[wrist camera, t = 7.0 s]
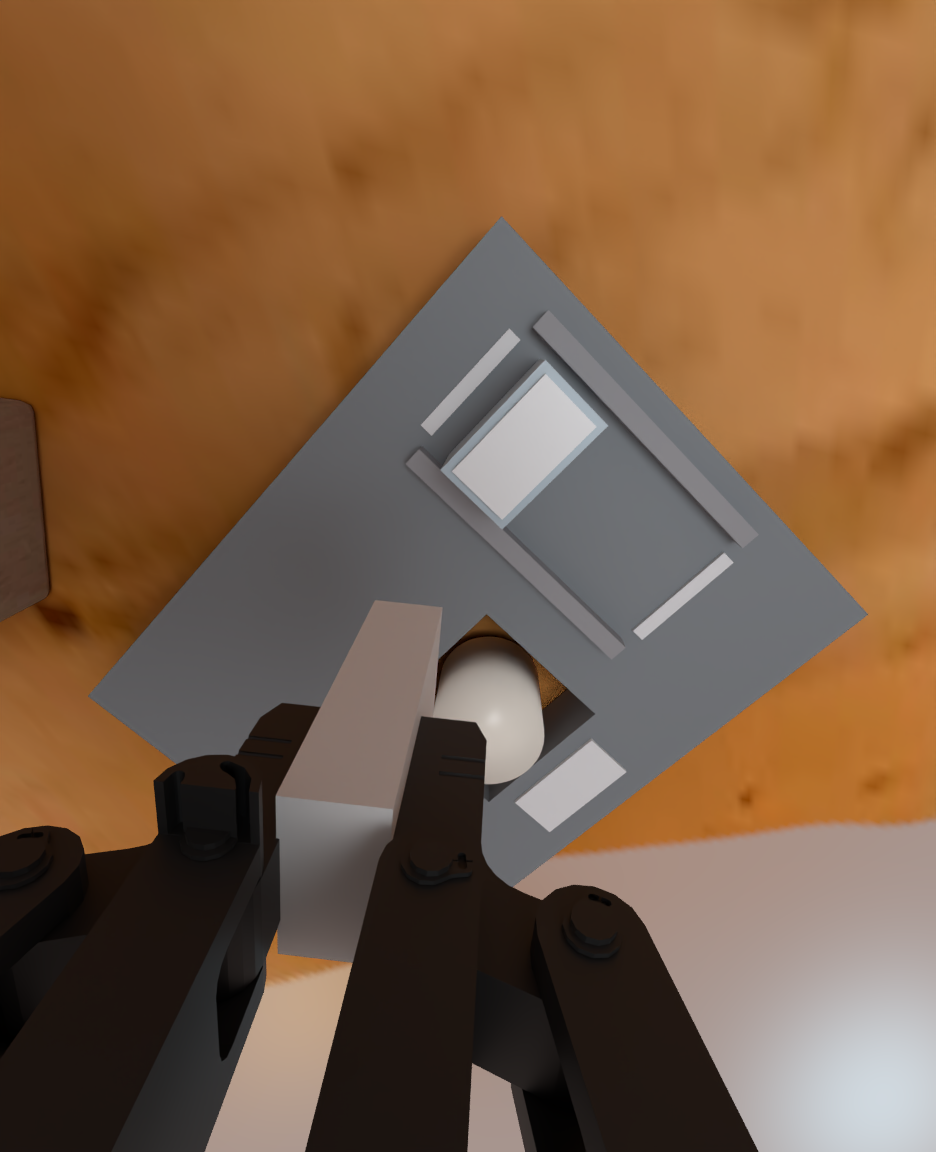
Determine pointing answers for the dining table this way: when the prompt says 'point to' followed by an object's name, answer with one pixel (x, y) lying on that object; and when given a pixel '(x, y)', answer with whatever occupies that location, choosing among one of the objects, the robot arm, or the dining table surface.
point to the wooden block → (20, 512)
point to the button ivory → (495, 702)
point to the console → (499, 564)
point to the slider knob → (522, 443)
